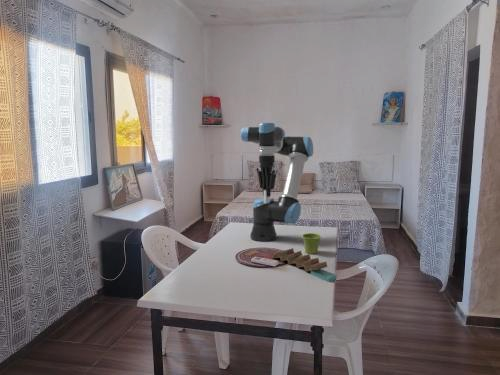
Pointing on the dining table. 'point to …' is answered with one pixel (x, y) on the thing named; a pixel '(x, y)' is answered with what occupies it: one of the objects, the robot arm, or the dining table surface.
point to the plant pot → (311, 242)
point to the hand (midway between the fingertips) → (266, 202)
